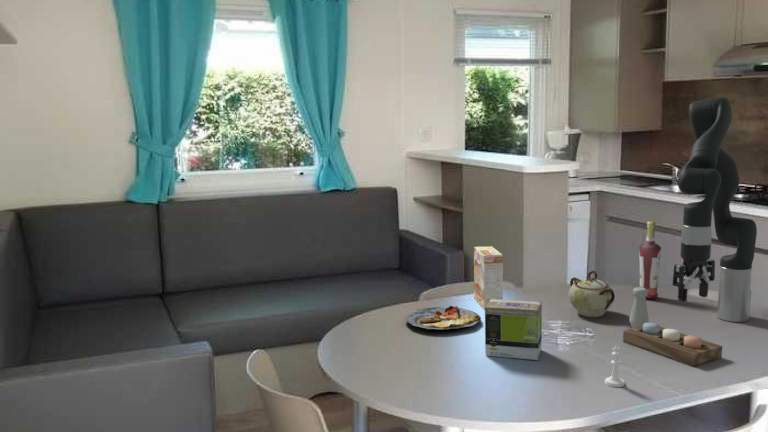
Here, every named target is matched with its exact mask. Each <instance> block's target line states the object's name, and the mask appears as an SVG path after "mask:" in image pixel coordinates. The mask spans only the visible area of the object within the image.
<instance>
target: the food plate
mask: <svg viewBox="0 0 768 432" xmlns="http://www.w3.org/2000/svg"><path fill="white" fill-rule="evenodd" d="M404 320H405V321H406V322H408V324H410V325H411V326H414V327H419V328H423V329H424V330H427V331H429V330H432V329H433V330H448V331H449V330H451V329H454V330H455V329H458V330H459V329H460V328H466V327H467V328H469V327H474V326H476V325H478V324H479V323H481V321H482V317H481V316H480V315H479V314H478V313H477V312H475V311H473V310H470V309H465V308H461V307H458V305H456V306H453V305H449V306H448V307H447V306H446V307H445V306H439V307H435V306H434V307H427V308H417V309H415V310H411V311H409V312H407V314H405V315H404Z"/></svg>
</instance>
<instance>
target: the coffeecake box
mask: <svg viewBox="0 0 768 432" xmlns="http://www.w3.org/2000/svg"><path fill="white" fill-rule="evenodd" d="M473 273H474V274H473V276H474V277H473V280H474V281H473V282H474V283H473V299H474V300H475V301H476V302H477V303H478V305H480V307H481V308H482V309H483V311H485V307H486V306H487V304H488V303H489V301H490V300H491V299H504V289H503V288H504V254H503V253H501V252H500V251H498V250H497V249H496V248H495V247H494V246H492V245H490V246H474V247H473Z"/></svg>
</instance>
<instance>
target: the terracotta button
mask: <svg viewBox="0 0 768 432" xmlns="http://www.w3.org/2000/svg"><path fill="white" fill-rule="evenodd" d="M687 335H688V334H687ZM702 340H703V338H702V337H700V336H698V335H690V334H689V335H688V336H684V346H685V347H688V348H691V349H694V350H696V349H699V348H701V347H702Z"/></svg>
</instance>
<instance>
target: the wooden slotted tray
mask: <svg viewBox="0 0 768 432" xmlns="http://www.w3.org/2000/svg"><path fill="white" fill-rule="evenodd" d="M664 329H668V328H666V327H662V326H660V327H659V334H657V335H653V336H652V335H649V334H646V333H643V326H639V327H635V328H632V327H631V328H628V329H625V330H622V331H623V335H622V337H623V338H622V342H623V343H625V344H627V345H632V346H634V347H637V348H639V349H641V350H645V351H648V352H650V353H652V354H653V353H654V354H656V355H659V356H662V357H664V358H667V359H670V360H672V361H676V362H677V363H678V362H679V363H682V364H684V365H688V366H689V367H692V368H696V367H698V366H702V365H704V364H708V363H711V362H713V361H717V360H719V359H722V356H723V345H720V344H717V343H713V342H711V341H707V340H705V339H702V347H701V348H699V349H696V350H694V349H691V348H688V347H685V346H684V336H688V334H686V333H683V332H682V333H681V332H680V341H677V342H670V341H667V340H664V339H662V338H663V330H664Z"/></svg>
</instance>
